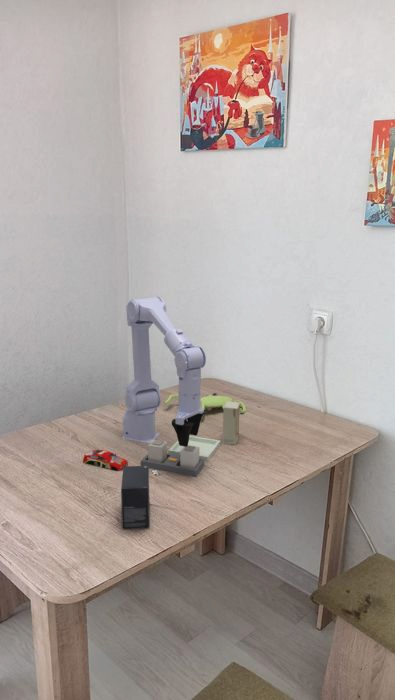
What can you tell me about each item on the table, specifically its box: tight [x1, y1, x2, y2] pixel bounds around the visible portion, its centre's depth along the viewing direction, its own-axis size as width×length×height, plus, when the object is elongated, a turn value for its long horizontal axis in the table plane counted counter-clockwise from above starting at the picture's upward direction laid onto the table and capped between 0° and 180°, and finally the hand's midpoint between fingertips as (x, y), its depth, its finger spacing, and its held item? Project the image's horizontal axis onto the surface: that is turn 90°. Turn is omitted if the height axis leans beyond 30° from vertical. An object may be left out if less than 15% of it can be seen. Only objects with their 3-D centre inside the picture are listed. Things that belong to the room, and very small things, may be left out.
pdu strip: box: [140, 452, 206, 478], centre depth 154 cm, size 16×7×3 cm, turn 70°
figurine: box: [163, 392, 247, 421], centre depth 197 cm, size 18×27×6 cm
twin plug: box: [147, 439, 168, 463], centre depth 155 cm, size 4×4×6 cm
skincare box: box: [221, 401, 241, 446], centre depth 170 cm, size 6×4×12 cm
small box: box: [120, 465, 151, 530], centre depth 130 cm, size 11×6×10 cm, turn 5°
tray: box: [167, 435, 222, 462], centre depth 165 cm, size 12×12×2 cm
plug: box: [180, 445, 200, 469], centre depth 152 cm, size 4×4×6 cm
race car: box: [82, 449, 129, 472], centre depth 155 cm, size 13×5×4 cm, turn 65°
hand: (188, 440), depth 151 cm, fingers open, 7 cm apart
